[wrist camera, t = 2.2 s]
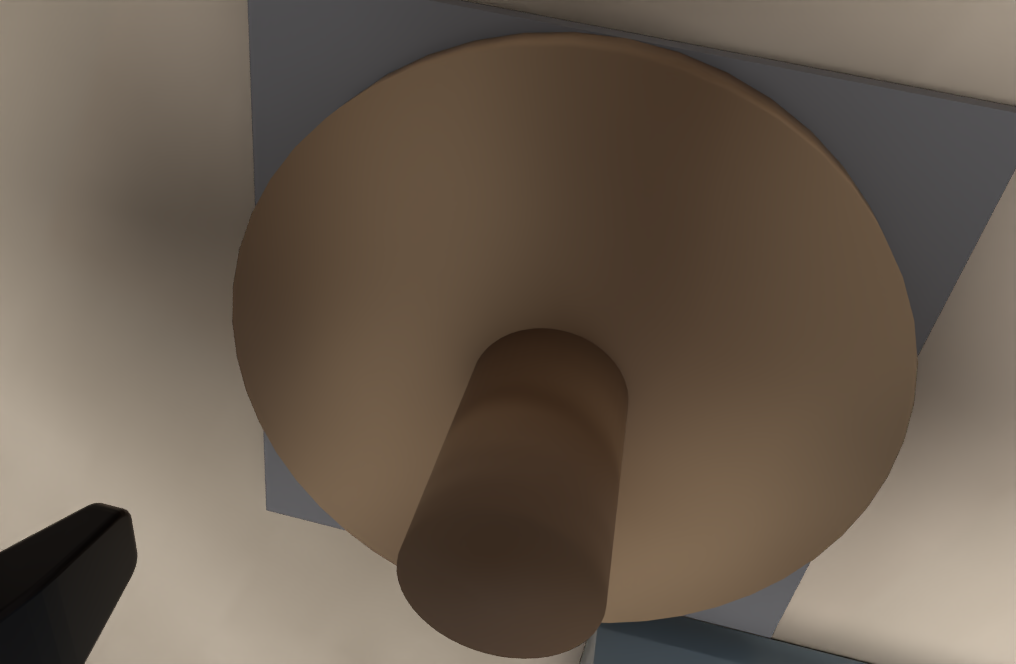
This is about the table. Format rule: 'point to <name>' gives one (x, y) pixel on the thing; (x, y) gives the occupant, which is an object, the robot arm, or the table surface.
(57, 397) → the table surface
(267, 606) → the table surface
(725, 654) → the dish
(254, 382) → the lid
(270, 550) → the table surface
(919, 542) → the table surface
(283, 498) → the mat
